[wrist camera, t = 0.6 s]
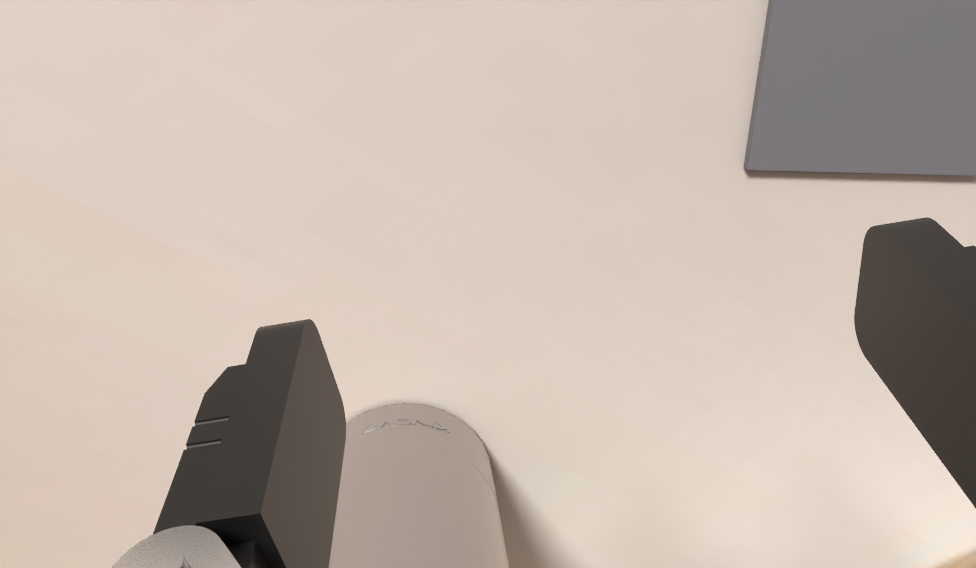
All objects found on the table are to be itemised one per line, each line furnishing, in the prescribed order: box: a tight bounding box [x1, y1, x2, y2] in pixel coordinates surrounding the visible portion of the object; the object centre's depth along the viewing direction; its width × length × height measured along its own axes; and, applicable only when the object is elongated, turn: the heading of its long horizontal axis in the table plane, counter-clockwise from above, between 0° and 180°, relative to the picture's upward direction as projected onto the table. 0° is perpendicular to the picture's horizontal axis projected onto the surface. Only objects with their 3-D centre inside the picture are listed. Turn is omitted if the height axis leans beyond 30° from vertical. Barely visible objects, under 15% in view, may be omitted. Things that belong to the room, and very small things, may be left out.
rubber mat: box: [744, 0, 976, 176], centre depth 36 cm, size 14×12×1 cm
